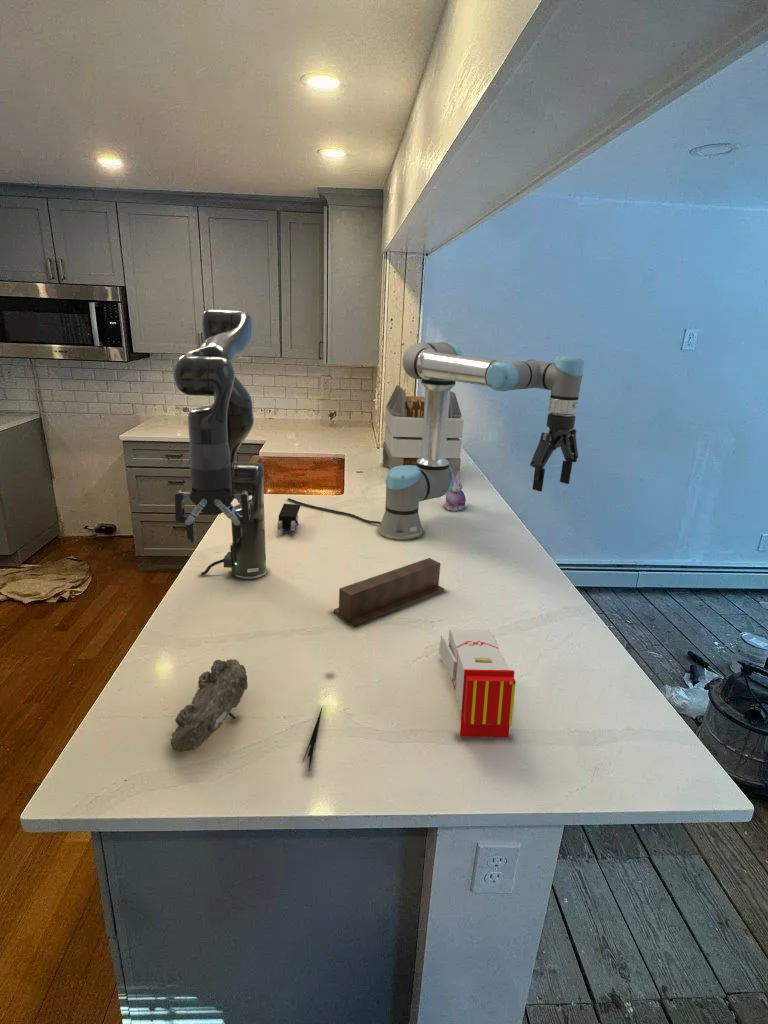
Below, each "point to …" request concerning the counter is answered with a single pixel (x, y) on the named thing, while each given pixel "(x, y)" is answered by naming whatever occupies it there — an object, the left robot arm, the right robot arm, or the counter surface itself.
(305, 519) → the counter surface
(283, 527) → the figurine character
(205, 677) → the fossil
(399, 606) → the rail
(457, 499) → the figurine
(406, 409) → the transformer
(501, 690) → the toy
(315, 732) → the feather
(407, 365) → the right robot arm
